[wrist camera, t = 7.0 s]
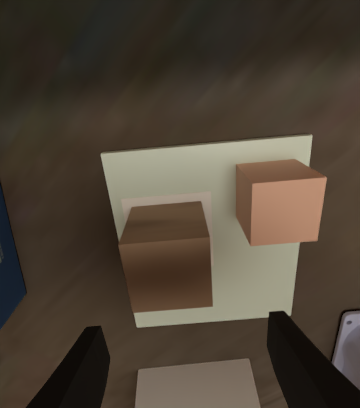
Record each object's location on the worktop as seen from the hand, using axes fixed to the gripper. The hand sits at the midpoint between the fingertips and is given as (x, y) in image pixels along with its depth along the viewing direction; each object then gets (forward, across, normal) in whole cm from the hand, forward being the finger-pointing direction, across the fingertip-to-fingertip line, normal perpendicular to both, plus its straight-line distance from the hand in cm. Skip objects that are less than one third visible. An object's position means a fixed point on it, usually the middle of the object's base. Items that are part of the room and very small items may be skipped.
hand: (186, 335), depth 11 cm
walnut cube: (+9, +1, 0) cm, 9 cm away
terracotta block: (+9, -6, -3) cm, 11 cm away
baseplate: (+10, -2, +2) cm, 10 cm away
